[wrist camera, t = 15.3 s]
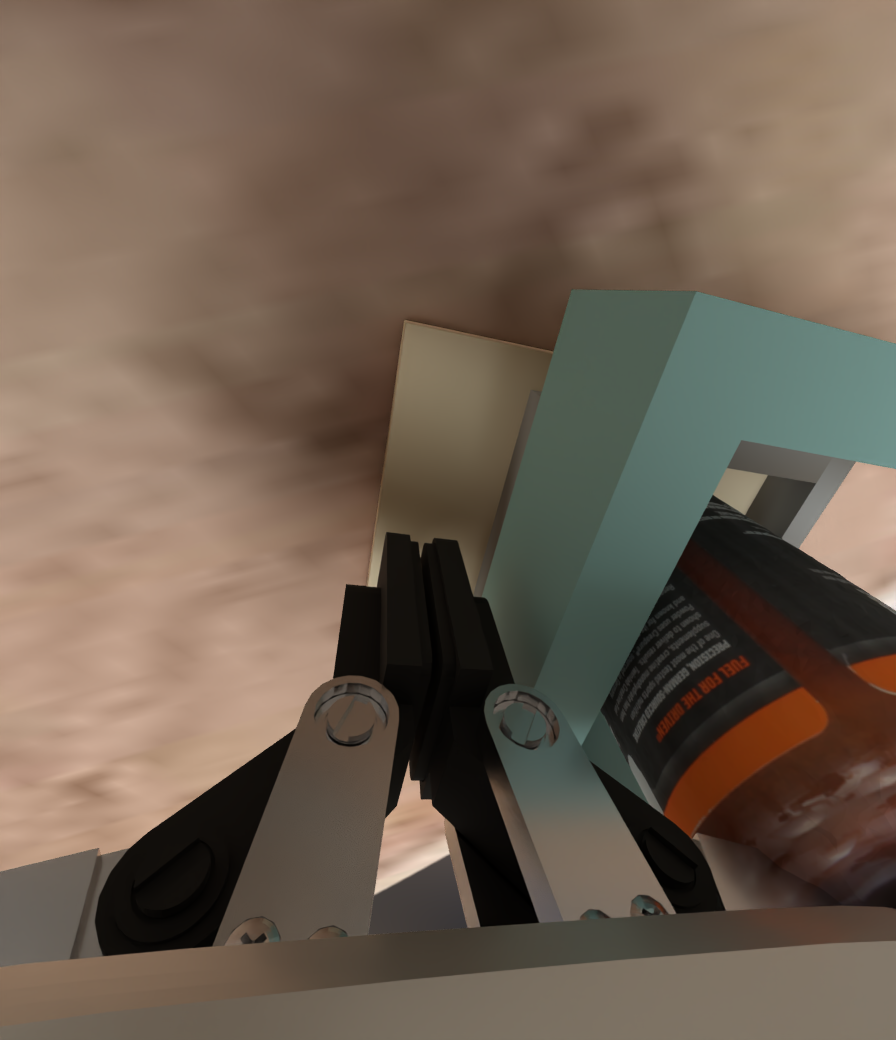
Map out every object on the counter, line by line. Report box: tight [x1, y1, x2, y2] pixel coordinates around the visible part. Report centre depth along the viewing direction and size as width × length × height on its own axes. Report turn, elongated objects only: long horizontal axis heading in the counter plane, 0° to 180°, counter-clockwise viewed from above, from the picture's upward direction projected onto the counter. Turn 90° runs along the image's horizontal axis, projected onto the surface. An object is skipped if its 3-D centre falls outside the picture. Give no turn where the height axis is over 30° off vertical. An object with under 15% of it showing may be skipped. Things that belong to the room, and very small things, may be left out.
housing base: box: [366, 320, 856, 597], centre depth 14 cm, size 11×12×3 cm
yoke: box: [482, 289, 896, 804], centre depth 11 cm, size 14×12×4 cm
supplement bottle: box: [600, 495, 896, 909], centre depth 9 cm, size 6×6×11 cm
